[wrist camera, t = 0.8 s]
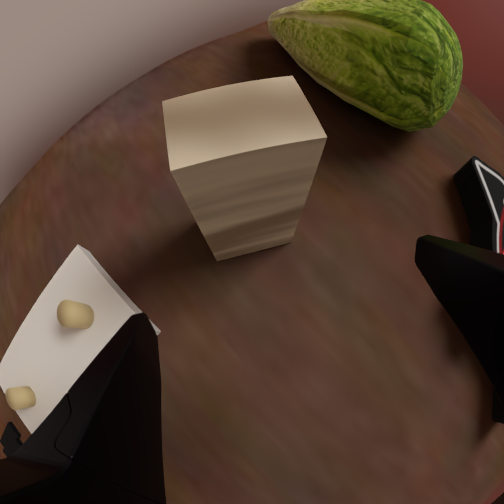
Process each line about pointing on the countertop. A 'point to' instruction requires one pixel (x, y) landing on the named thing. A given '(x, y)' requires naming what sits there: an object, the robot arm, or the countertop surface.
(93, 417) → the robot arm
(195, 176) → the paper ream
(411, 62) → the lettuce
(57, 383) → the white peg rack
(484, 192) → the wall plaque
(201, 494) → the countertop surface
